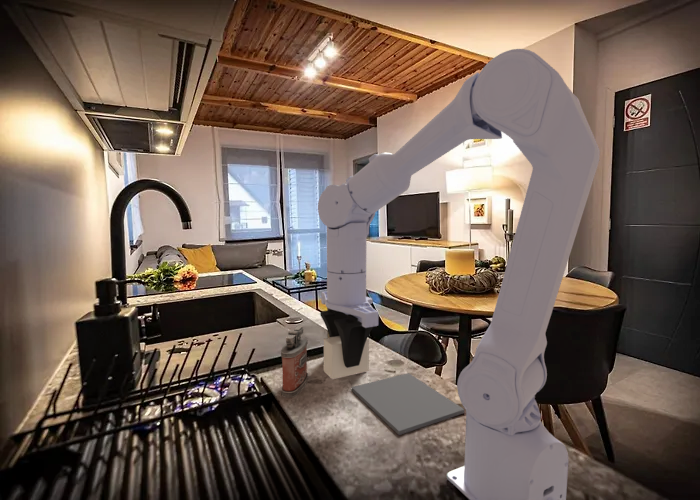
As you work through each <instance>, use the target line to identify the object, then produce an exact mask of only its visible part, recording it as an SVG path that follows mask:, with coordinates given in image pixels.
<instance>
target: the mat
mask: <svg viewBox="0 0 700 500" xmlns="http://www.w3.org/2000/svg"><path fill="white" fill-rule="evenodd" d="M351 392H353V393H354V395H356V396H357V397H358V398H359V399H360V400H361V401H362V402H363V403H364V404H365V405H366V406H367V407H369V409H370V410H371V411H372V412H374V413H375V415H376V416H378V417H379V418H380V419H381V420H382V421H383V422H384V423H385V424H387V425H388V427H389V428H391V429H392V430H393V431H394V432H395V433H396V434H397V435H398V436H401V435H403V434H407V433H410V432H412V431H415V430H419V429H422V428H424V427H427V426H430V425H434V424H436V423H439V422H442V421H444V420H445V421H446V420H448V419H451V418H454V417H457V416H460V415H462V414H464V413H465V408H464V407H463V406H460V405H459V404H457V403H456V402H454V401H453V400H451V399H449V398H447V397H446V396H445V395H443V394H441V393H440V392H438V391H437V390H436V389H435V388H433V387H431V386H429V385H428V384H426V383H425V382H423V381H422V380H420V379H419V378H417V377H415V375H413V374H411V373H409V372H407V373H403V374H399V375H395V376H391V377H386V378H383V379H379V380H375V381H370V382H367V383H366V382H365V383H363V384H359V385H353V386H351Z"/></svg>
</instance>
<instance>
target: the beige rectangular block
mask: <svg viewBox="0 0 700 500" xmlns="http://www.w3.org/2000/svg"><path fill="white" fill-rule="evenodd" d="M369 371H370V338H369V337H367V340H366V342H365V345H364V349H363V352H362V356H361V360H360V364H359V365H358V366H354V367H349V368H347V367H345V364H344V360H343V353H342V344H341V339H340V336H336V337H330V338H328V337H325V338H323V372H324V373H325V374H326V375H327V376H328V377H329V378H330V379H331V380H335V379H340V378H345V377H348V376H353V375H357V374H362V373H366V372H369Z"/></svg>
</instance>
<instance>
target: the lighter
mask: <svg viewBox="0 0 700 500" xmlns="http://www.w3.org/2000/svg"><path fill="white" fill-rule="evenodd" d="M302 335H304V327H303V326H302V325H298V326H296V328H294V330H288V333H287V336H286V337H285V343H284V345H283V347H282V348H281V349H280V357H281V362H282V363H281V364H282V365H281V366H282V368H281V369H282V386H281V396H282V397H284V398H293V397H296V396H297V395H299V393H301V392H302V390H303V389H304V388H305V387H306V385H307V383H308V380H309V373H308V371H307V370H308V363H307V362H308V361H307V360H308V357H307V356H308V355H307V354H308V353H307V351H308V350H307V349H308V348H307V347H308V346H307V345H308V343H309V341H308V338H307V337H305V336H302Z"/></svg>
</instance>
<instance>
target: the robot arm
mask: <svg viewBox="0 0 700 500" xmlns="http://www.w3.org/2000/svg"><path fill="white" fill-rule="evenodd" d="M581 105H582V104H581V102H580V99H579V98H578V96H576V94H575V93H574V92H572V90H571V89H570V87H569V86H568V85H567V84H566V82H565V80H564V78H563V77H562V76H561V74H560V73H559V72H558V71H557V70H556V69H555V68H554V67H552V66H551V64H549V63H548V62H547V61H546V60H544V59H543V58H542V57H541V56H540V55H539V54H537V53H536V52H535V51H532V50H529V49H526V48H525V49H524V48H513V49H509V50H505V51H504V52H501V53H499V54H498V55H496V56H495V57H493V58H492V59H491V60H490V61H488V62H487V63H486V64H485V65H484V67H483V68H482V70H480V72H476V73H475V74H472V76H470V77H467V79H466V80H465V81H464V82H463V84H462V86H461V87H460V88H459V90H458V92H457V93H456V95H455V97H454V98H453V99H452V100H451V101H450V102H449V104H447V105H445V107H444V108H442V110H440V112H438V113H437V114H436V115H435V116H434V117H433V118H432V119H431V120H430V121H429V122H428V123H427V124H426V125H424V126H423V127H422V128H421V129H420V130H419V131H418V132H416V134H414V136H412V137H411V138H410V139H409V140H408V141H407V142H406V143H405V144H404V145H402V146H401V148H399V149H398V150H397V151H396V152H395V153H391V152H388V151H387V152H386V151H385V152H381V153H379V154H378V153H374V154H372V155H371V156H370V157H369V158H368V161H369V162H368V163H367V164H366V165H364V166H363V167H362V168H361V169H360V170H359V171H358V172H356V173H355V174H354V175H350V176H349V177H347V178H346V179H345V182H343V183H341V184H340V185H338V184H329V185H327V186H326V188H325V189H324V190H323V191H322V192H321V194H320V196H319V198H318V202H317V203H318V204H317V212H318V216H319V219H320V221H321V222H322V223H323V224H324V225H325V226H326V276H327V277H326V291H321V298H320V301H321V304H322V305H325V307H326V309H327V308H329V310H328V311H327V310H323V311H320V313H319V314H320V317H321V320H322V321H323V322H324V325H325V327H326V331H327V334H328V333H329V337H336V336H340V339H341V344H342V353H343V360H344V364H345V367H347V368H349V367H354V366H358V365H359V364H360V360H361V356H362V352H363V349H364V345H365V342H366V340H367V338H369V335H370V333H371V331H372V330H373V328H374V327H377V326H379V311H378V310H376V309H375V308H373V306H372V305H371V304H373V298H372V297H369V296H367V297H366V289H367V238H368V235H370V225H371V223H372V222H373V220H374V218H375V215H376V212H378V211H379V210H381V209H382V208H383V207H385V206H387V205H388V204H389V203H390V202H392V201H394V200H395V199H396V198H398V197H399V196H401V195H402V194H404V193H405V192H406V191H408V189H409V188H410V187H411V179H412V176H413V175H415V174H416V173H418V172H420V171H421V170H422V169H424V168H426V167H427V166H429V165H430V164H432V163H433V162H435V161H437V160H438V159H439V158H441V157H442V156H444V155H446V154H447V153H449V152H450V151H452V150H454V149H456V147H458V146H460V145H461V144H463V143H464V142H467V141H468V140H500V139H502V138H503V135H502V134H505V135H506V136H507V137H509V138H510V139H512V141H513V143H514V144H515V146H516V147H517V148H518V149H519V151H520V152H521V154H522V155H523V156H524V157H525V159H526V160H527V161H528V162H529V164H530V165H531V167H532V170H531V171H532V172H531V174H530V175H531V176H530V178H529V181H528V186H527V190H526V192H525V193H526V194H525V196H524V200H523V204H522V208H521V211H520V216H519V219H518V222H517V227H516V231H515V234H514V236H513V241H512V244H511V249H510V251H509V256H508V259H507V262H506V267H505V271H504V273H503V277H502V282H501V285H500V289H499V291H498V292H499V293H498V297H497V299H496V303H495V308H494V310H493V315H492V319H491V321H490V324H489V326H488V328H487V329H486V331H485V333H484V334H483V336H482V338H481V339H480V340H479V343H478V344H477V346H476V349H475V353H474V356H473V358H472V360H471V361H470V363H469V364H468V365H467V366H465V367H464V368H463V369H462V371H460V374H459V376H458V378H457V384H456V385H457V387H456V388H457V395H458V399H459V400H460V403H461V405H462V408H463V409H464V410H466V411H465V414H466V415H465V439H464V441H465V443H464V444H465V445H464V465H463V466H460V467H458V468H456V469H453V470H451V471H449V472H447V473H446V478H447V480H448V481H449V482H450V483H451V484H453V486H455V488H457V489H458V490H459V491H460V492H461V493H462V494H463V495H464V496H465V497H466V498H467V499H468V500H567V490H568V489H567V487H568V476H569V475H568V473H569V454H568V450H567V447H566V446H565V444H564V443H563V442H561V441H560V440H559V439H557V438H556V437H555V436H554V435H553V434H552V433H551V432H549V430H548V429H547V428H546V426H544V424H543V422H542V421H541V415H542V414H541V413H540V408H539V406H538V403H537V400H536V399H535V398H536V395H537V393H539V392H540V391H541V390H542V389H543V388H544V386H545V385H546V382H547V376H548V373H547V372H548V371H547V366H546V363H545V351H546V348H547V345H548V341H547V336H546V332H547V329H548V326H549V323H550V319H551V316H552V314H553V310H554V307H555V303H556V300H557V297H558V294H559V291H560V287H561V284H562V281H563V277H564V275H565V271H566V268H567V265H568V262H569V259H570V256H571V252H572V250H573V246H574V243H575V239H576V236H577V233H578V230H579V227H580V223H581V221H582V217H583V214H584V210H585V208H586V205H587V201H588V199H589V195H590V191H591V189H592V185H593V182H594V179H595V175H596V172H597V170H598V166H599V163H600V159H601V158H600V156H601V150H600V147H599V145H598V143H597V140H596V138H595V135H594V133H593V131H592V129H591V126H590V124H589V121H588V120H587V117H586V114H585V113H584V111H583V110H584V109H583V108H582V106H581Z"/></svg>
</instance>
